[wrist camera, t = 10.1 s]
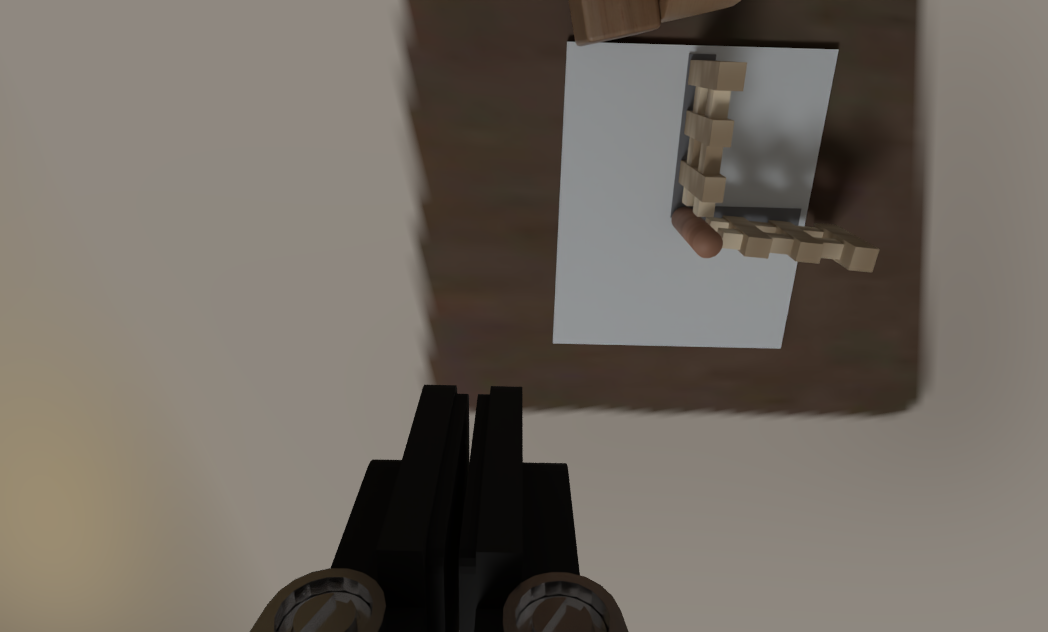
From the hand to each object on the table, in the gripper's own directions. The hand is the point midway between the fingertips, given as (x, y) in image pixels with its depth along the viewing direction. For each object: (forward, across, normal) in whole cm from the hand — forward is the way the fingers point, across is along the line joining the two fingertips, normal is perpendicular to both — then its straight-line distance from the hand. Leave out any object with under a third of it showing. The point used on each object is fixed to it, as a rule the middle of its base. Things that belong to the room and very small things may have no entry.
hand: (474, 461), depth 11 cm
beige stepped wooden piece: (+27, -14, +2) cm, 30 cm away
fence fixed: (+27, -10, -3) cm, 29 cm away
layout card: (+27, -10, +2) cm, 29 cm away
